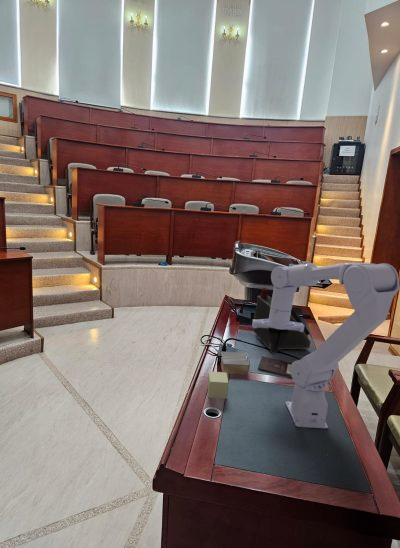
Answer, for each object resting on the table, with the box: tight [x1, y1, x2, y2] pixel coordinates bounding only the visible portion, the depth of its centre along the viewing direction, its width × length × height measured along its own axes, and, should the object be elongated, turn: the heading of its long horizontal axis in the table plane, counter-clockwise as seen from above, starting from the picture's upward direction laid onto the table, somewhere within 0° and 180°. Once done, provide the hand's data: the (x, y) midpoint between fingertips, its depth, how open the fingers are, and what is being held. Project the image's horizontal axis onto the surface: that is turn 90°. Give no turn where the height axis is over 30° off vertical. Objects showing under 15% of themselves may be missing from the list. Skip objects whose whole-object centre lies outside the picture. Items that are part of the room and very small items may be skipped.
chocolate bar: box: [257, 356, 293, 379], centre depth 107 cm, size 9×1×18 cm
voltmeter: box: [252, 287, 312, 351], centre depth 125 cm, size 16×16×20 cm
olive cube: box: [206, 371, 229, 400], centre depth 90 cm, size 5×5×5 cm
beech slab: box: [219, 351, 250, 375], centre depth 105 cm, size 4×8×8 cm
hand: (273, 351), depth 95 cm, fingers closed
